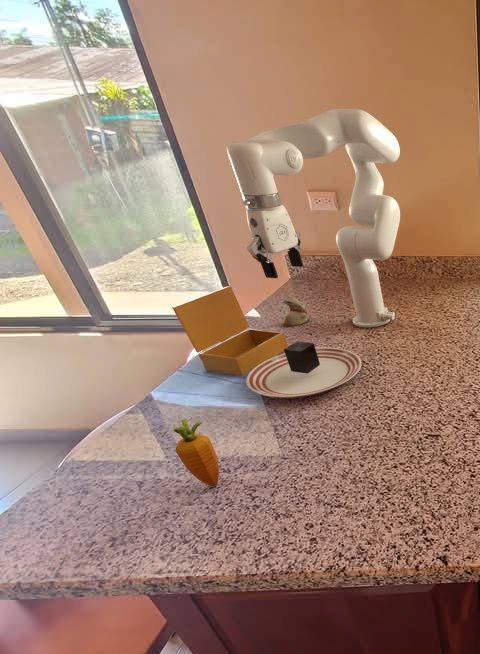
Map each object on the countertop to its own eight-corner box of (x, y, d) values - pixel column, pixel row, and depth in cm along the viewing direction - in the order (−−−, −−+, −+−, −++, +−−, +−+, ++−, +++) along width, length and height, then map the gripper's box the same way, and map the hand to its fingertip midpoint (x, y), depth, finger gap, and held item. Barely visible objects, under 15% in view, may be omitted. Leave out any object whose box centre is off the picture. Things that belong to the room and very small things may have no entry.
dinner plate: (339, 346, 130) (336, 337, 129) (380, 380, 114) (378, 369, 112) (237, 377, 114) (233, 366, 112) (269, 421, 97) (264, 409, 96)
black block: (320, 364, 114) (313, 343, 110) (307, 373, 110) (300, 351, 106) (303, 362, 115) (297, 341, 111) (291, 371, 110) (283, 349, 107)
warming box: (289, 349, 128) (283, 332, 125) (243, 377, 114) (236, 359, 111) (255, 345, 130) (249, 328, 127) (206, 372, 116) (198, 353, 113)
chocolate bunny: (308, 324, 144) (300, 296, 139) (283, 327, 142) (273, 298, 137) (309, 318, 149) (301, 290, 143) (284, 321, 146) (275, 293, 141)
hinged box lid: (230, 285, 120) (215, 286, 122) (174, 307, 106) (157, 307, 107) (249, 327, 127) (234, 326, 128) (198, 352, 112) (182, 352, 114)
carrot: (208, 477, 82) (174, 414, 74) (235, 476, 82) (204, 413, 74) (193, 496, 78) (155, 432, 70) (221, 495, 78) (187, 430, 70)
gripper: (249, 209, 94) (274, 283, 103) (300, 196, 108) (318, 263, 117) (220, 207, 95) (247, 281, 104) (274, 195, 109) (294, 261, 118)
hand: (285, 271), depth 111 cm, fingers open, 9 cm apart
